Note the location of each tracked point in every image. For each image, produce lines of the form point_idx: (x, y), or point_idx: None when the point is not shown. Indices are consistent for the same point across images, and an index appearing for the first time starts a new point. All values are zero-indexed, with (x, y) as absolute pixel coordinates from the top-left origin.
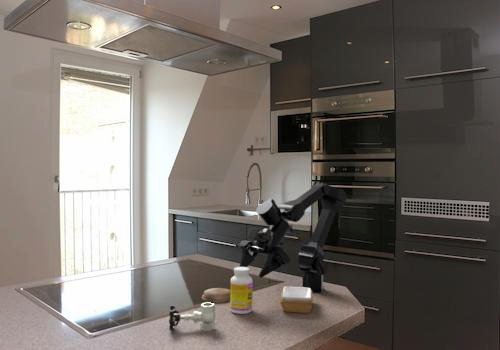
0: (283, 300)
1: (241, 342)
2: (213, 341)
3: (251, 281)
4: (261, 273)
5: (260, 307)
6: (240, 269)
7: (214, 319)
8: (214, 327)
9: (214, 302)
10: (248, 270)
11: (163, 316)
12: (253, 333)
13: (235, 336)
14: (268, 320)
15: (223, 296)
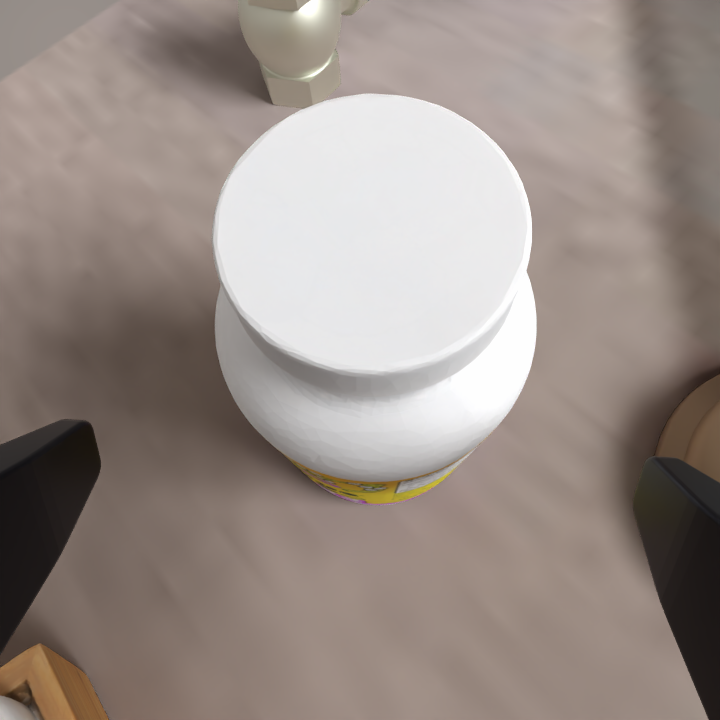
0: (28, 707)
1: (35, 89)
2: (157, 16)
3: (221, 367)
4: (17, 447)
5: (321, 607)
6: (334, 159)
7: (245, 40)
8: (270, 95)
9: (692, 392)
10: (217, 268)
11: (638, 17)
12: (47, 198)
13: (106, 112)
14: (86, 415)
15: (699, 464)
